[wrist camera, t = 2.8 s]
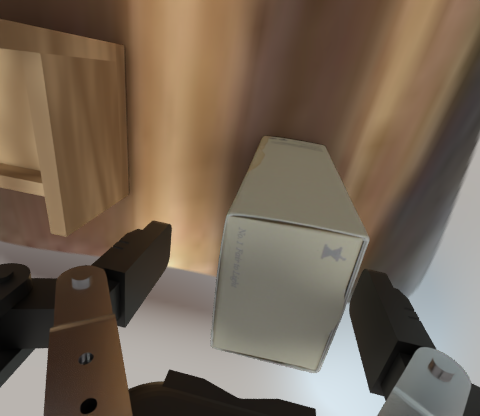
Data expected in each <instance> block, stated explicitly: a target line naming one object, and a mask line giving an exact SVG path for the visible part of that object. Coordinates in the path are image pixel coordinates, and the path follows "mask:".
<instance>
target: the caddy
mask: <svg viewBox="0 0 480 416" xmlns="http://www.w3.org/2000/svg"><path fill="white" fill-rule="evenodd" d="M0 187H1V188H6V189H11V190H16V191H20V192H25V193H30V194H35V195H40V196H45V201H46V207H47V213H48V219H49V225H50V231H51V234H56V235H61V236H65V237H67V236H69V235H70V234H71V233H73V232H74V231H76V230H77V229H79V228H80V227H82V226H83V225H85V224H86V223H88V222H89V221H91V220H92V219H94V218H95V217H97V216H98V215H99V214H101V213H102V212H104V211H105V210H107V209H108V208H110V207H111V206H113V205H114V204H116V203H117V202H119V201H120V200H122V199H123V198H125V197H126V196H127V195H129V173H128V143H127V113H126V83H125V53H124V45H120V44H115V43H110V42H106V41H101V40H96V39H92V38H87V37H82V36H78V35H73V34H68V33H64V32H59V31H54V30H50V29H45V28H40V27H36V26H31V25H26V24H22V23H17V22H13V21H8V20H3V19H0Z"/></svg>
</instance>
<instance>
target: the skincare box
mask: <svg viewBox="0 0 480 416" xmlns="http://www.w3.org/2000/svg"><path fill="white" fill-rule="evenodd" d="M368 243H369V236H368V234H367V232H366V230H365V228H364V226H363V224H362V222H361V219H360V218H359V216H358V214H357V212H356V210H355V207H354V206H353V203H352V201H351V199H350V197H349V195H348V193H347V191H346V189H345V186H344V185H343V182H342V180H341V178H340V176H339V174H338V172H337V170H336V168H335V166H334V164H333V162H332V160H331V158H330V156H329V153H328V151H327V149H326V147H325V146H324V145H319V144H314V143H309V142H304V141H298V140H292V139H286V138H279V137H272V136H263V137H262V139H261V142H260V144H259V146H258V148H257V151H256V153H255V155H254V158H253V160H252V162H251V164H250V167H249V169H248V171H247V173H246V176H245V178H244V180H243V182H242V184H241V187H240V189H239V191H238V193H237V195H236V197H235V199H234V201H233V204H232V206H231V207H230V209H229V211H228V213H227V216H226V220H225V225H224V230H223V237H222V242H221V249H220V256H219V263H218V271H217V279H216V288H215V298H214V307H213V319H212V330H211V347H212V348H215V349H218V350H222V351H225V352H230V353H235V354H238V355H242V356H246V357H249V358H253V359H258V360H261V361H266V362H269V363H273V364H277V365H282V366H286V367H290V368H295V369H298V370H302V371H307V372H310V373H317V372H319V371H320V369H321V367H322V364H323V361H324V359H325V357H326V355H327V352H328V350H329V347H330V345H331V342H332V340H333V337H334V335H335V332H336V330H337V328H338V325H339V323H340V320H341V318H342V315H343V312H344V310H345V307H346V304H347V301H348V298H349V296H350V293H351V291H352V287H353V285H354V282H355V279H356V276H357V274H358V271H359V268H360V265H361V263H362V260H363V256H364V253H365V251H366V248H367V246H368Z"/></svg>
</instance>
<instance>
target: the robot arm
mask: <svg viewBox="0 0 480 416" xmlns="http://www.w3.org/2000/svg"><path fill="white" fill-rule="evenodd" d="M171 232H172V227H171V225H170V224H166V223H162V222H158V221H152V222H151V223H150V224H148V225H147V226H146V227H145V228H144V229H143V230H140V229H137V230H134V231H132V232H130V233H127V234H126V235H125V236H124V237H123V238H121V239H120V240H119V242H117V243H116V244H115V245H114V246H113V247H111V248H110V249H109V250H108V251H107V252H106V253H105V254H103V255H102V256H101V257H100V258H99V259H98V260H97V261H95V262H94V263H93V264H92V265H91V266H87V265H85V266H78V267H74V268H71V269H69V270H67V271H65V272H64V273H62V274H61V275H60V276H59V277H58V278H56V279H50V278H47V279H45V278H31V274H30V269H29V268H28V267H27V266H25V265H22V264H15V263H8V264H1V265H0V387H1V386H2V385H3V384H4V383H5V382H6V381H7V379H8V378H9V377H10V376H11V375H12V374H13V373H14V371H15V370H16V369H17V368H18V367H19V366H20V365H21V364H22V363H23V362H24V360H25V359H26V358H27V357H28V356H29V355H30V354H31V353H32V352H33V350H34V349H35V348H48V360H47V375H46V389H45V404H44V416H316V410H315V409H314V408H310V407H306V406H303V405H299V404H295V403H292V402H288V401H284V400H281V399H240V398H237V397H235V396H233V395H231V394H230V393H228V392H226V391H224V390H223V389H221V388H219V387H217V386H215V385H214V384H212V383H210V382H209V381H207V380H205V379H203V378H199V377H195V376H192V375H188V374H184V373H180V372H177V371H173V370H169V371H168V374H167V376H166V378H165V381H164V382H151V383H146V384H142V385H138V386H136V387H133V388H130V389H128V385H127V380H126V374H125V368H124V362H123V357H122V351H121V345H120V339H119V334H118V327H117V326H121V327H126V326H127V324H128V323H129V322H130V320H131V318H132V317H133V316H134V314H135V313H136V311H137V310H138V308H139V307H140V306H141V304H142V303H143V301H144V300H145V298H146V297H147V295H148V294H149V293H150V291H151V290H152V288H153V287H154V285H155V284H156V282H157V281H158V280H159V278H160V277H161V275H162V274H163V272H164V271H165V269H166V267H167V265H168V262H169V257H170V245H171ZM349 312H350V318H351V322H352V325H353V329H354V333H355V337H356V340H357V344H358V348H359V352H360V356H361V360H362V364H363V367H364V371H365V375H366V379H367V383H368V387H369V390H370V393H374V394H377V395H381V396H384V397H385V400H386V402H385V404H384V405H383V407H382V409H381V410H380V412H379V414H378V416H480V387H478V386H476V385H474V384H472V383H471V381H470V379H469V376H468V375H467V373H466V372H465V370H464V369H463V368H462V367H461V366H460V365H459V364H458V363H457V362H455V360H453V359H452V358H451V357H449V356H448V355H446V354H444V353H443V352H440V351H438V350H436V348H435V346H434V344H433V343H432V341H431V339H430V337H429V335H428V334H427V332H426V330H425V328H424V326H423V325H422V323H421V321H419V317H418V316H417V314H416V312H414V309H413V307H412V305H411V303H410V301H409V299H408V298H407V297H406V296H405V295H403V294H402V293H401V292H400V291H399V290H398V289H396V288H393V286H392V284H391V282H390V280H389V278H388V276H387V274H386V273H382V272H378V271H373V270H369V269H364V270H363V272H362V274H361V276H360V278H359V281H358V283H357V286H356V288H355V291H354V293H353V295H352V298H351V301H350V308H349Z"/></svg>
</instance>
